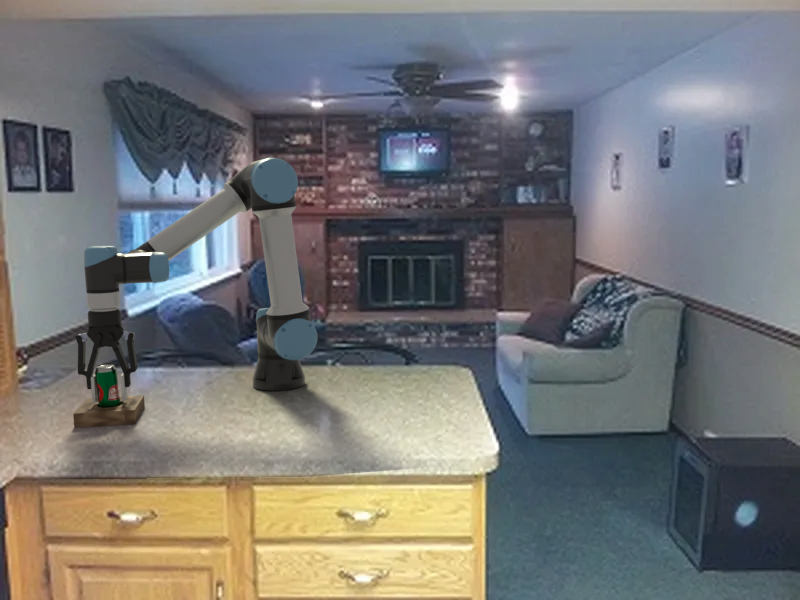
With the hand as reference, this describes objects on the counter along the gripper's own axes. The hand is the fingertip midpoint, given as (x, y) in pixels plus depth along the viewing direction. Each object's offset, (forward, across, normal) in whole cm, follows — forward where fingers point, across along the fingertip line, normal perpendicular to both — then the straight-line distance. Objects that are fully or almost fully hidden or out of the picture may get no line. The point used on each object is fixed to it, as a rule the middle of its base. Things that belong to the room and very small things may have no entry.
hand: (110, 400), depth 183 cm
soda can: (+4, 0, 0) cm, 4 cm away
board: (+4, 0, 0) cm, 4 cm away
